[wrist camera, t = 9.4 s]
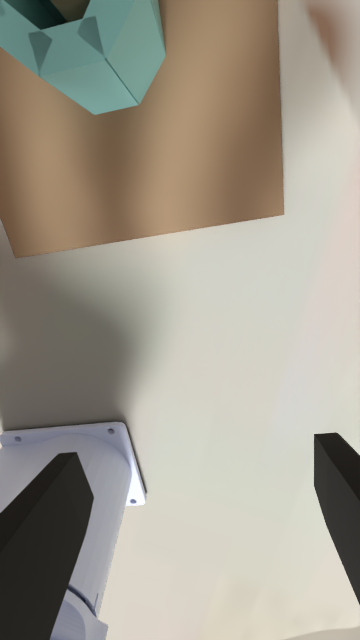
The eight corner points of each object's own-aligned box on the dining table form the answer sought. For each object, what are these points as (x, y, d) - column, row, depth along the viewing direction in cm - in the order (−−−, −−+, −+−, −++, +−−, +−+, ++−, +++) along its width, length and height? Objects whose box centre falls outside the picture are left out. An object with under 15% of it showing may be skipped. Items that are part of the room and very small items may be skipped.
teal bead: (63, 121, 14) (-7, 87, 9) (23, -27, 12) (-89, -163, 7) (172, 97, 13) (156, 47, 9) (148, -64, 11) (111, -238, 7)
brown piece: (25, 254, 17) (-70, 289, 11) (-127, -176, 11) (-506, -595, 5) (279, 213, 16) (328, 228, 10) (258, -321, 10) (355, -1202, 4)
